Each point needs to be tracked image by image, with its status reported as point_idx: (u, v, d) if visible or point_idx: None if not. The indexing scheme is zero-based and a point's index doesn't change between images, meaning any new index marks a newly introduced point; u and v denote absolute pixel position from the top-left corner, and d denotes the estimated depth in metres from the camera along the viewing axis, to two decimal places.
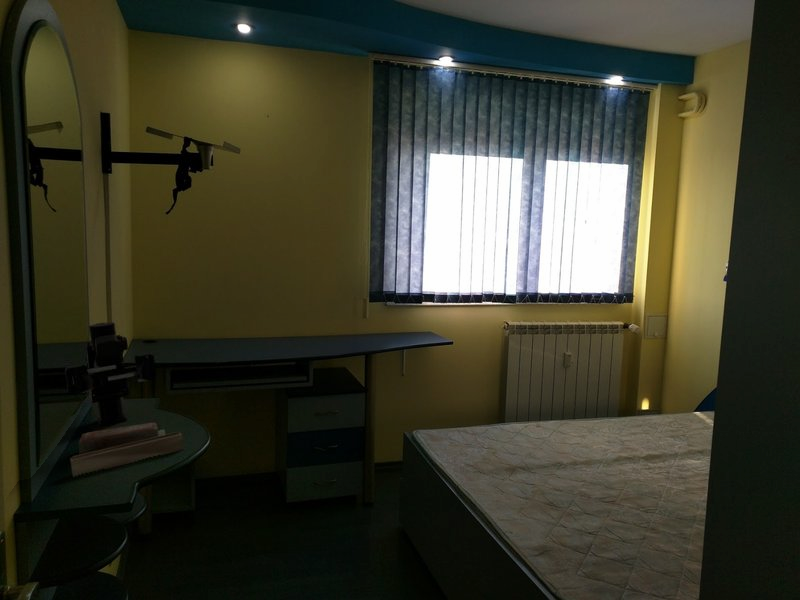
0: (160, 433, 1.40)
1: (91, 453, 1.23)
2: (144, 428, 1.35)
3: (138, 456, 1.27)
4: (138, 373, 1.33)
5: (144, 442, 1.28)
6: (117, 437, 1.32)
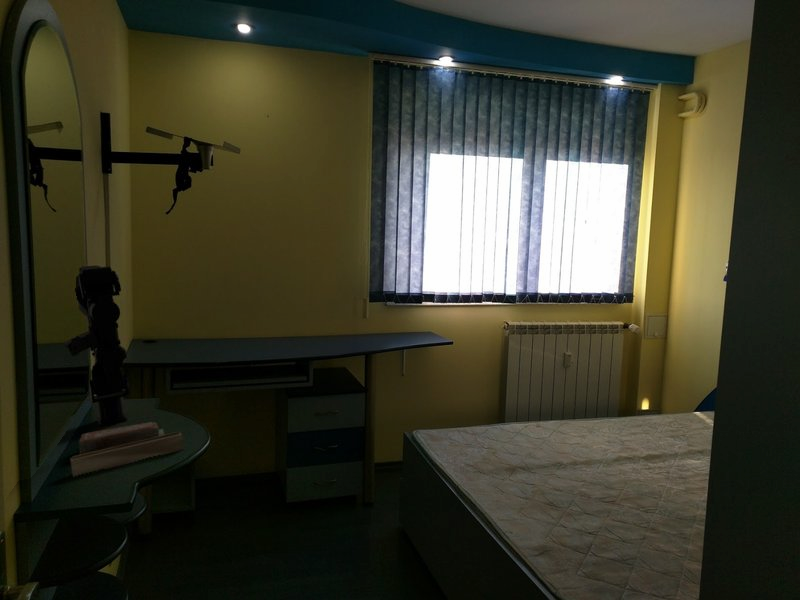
0: (159, 432, 1.41)
1: (91, 453, 1.23)
2: (145, 427, 1.35)
3: (138, 456, 1.27)
4: (109, 383, 1.39)
5: (144, 442, 1.28)
6: (118, 437, 1.32)
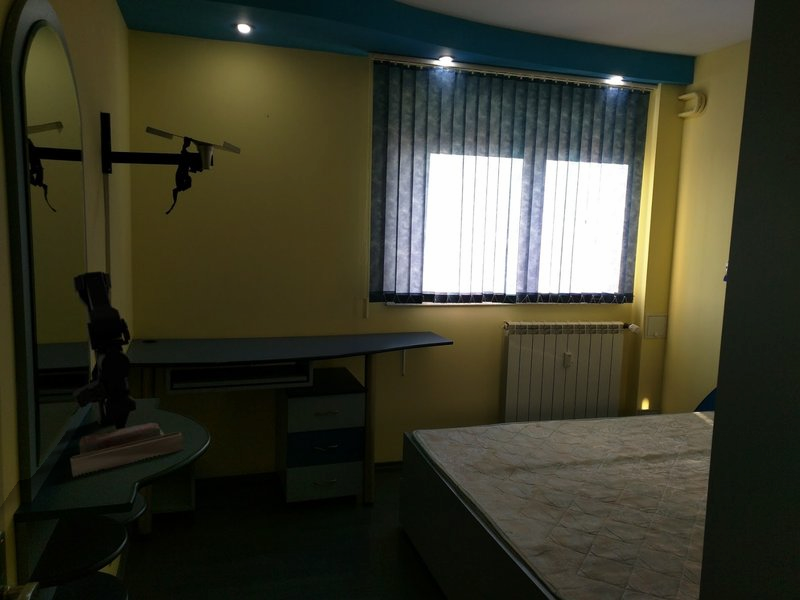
0: None
1: (91, 453, 1.23)
2: (146, 428, 1.35)
3: (138, 456, 1.27)
4: None
5: (144, 442, 1.28)
6: (120, 438, 1.32)
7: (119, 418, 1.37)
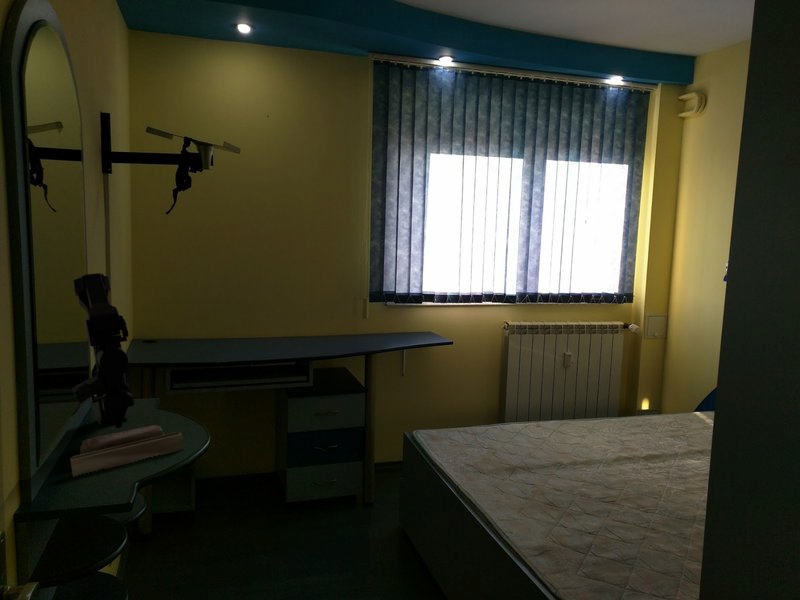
0: None
1: (91, 453, 1.23)
2: (149, 430, 1.33)
3: (138, 456, 1.27)
4: None
5: (144, 442, 1.28)
6: (123, 441, 1.29)
7: (117, 413, 1.39)
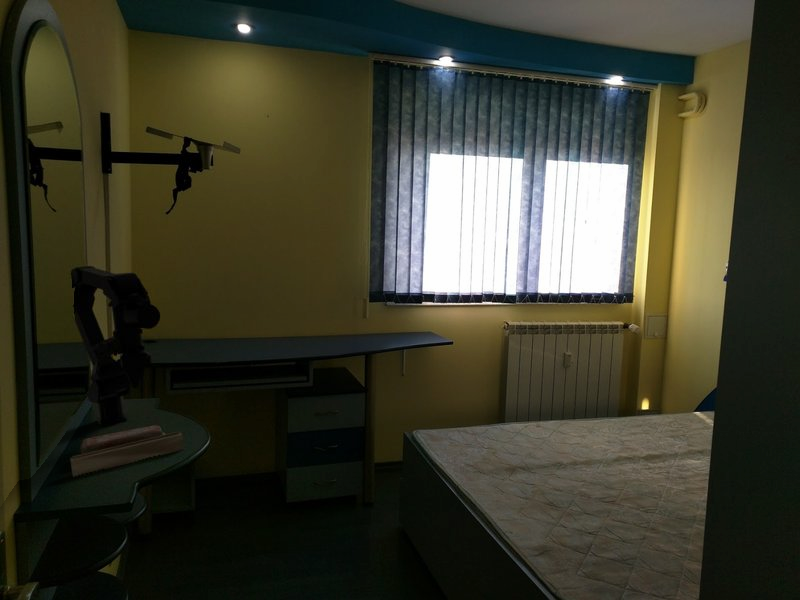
0: None
1: (91, 453, 1.23)
2: (148, 431, 1.33)
3: (138, 456, 1.27)
4: (132, 386, 1.43)
5: (144, 442, 1.28)
6: (122, 441, 1.29)
7: (134, 373, 1.42)
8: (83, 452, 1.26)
